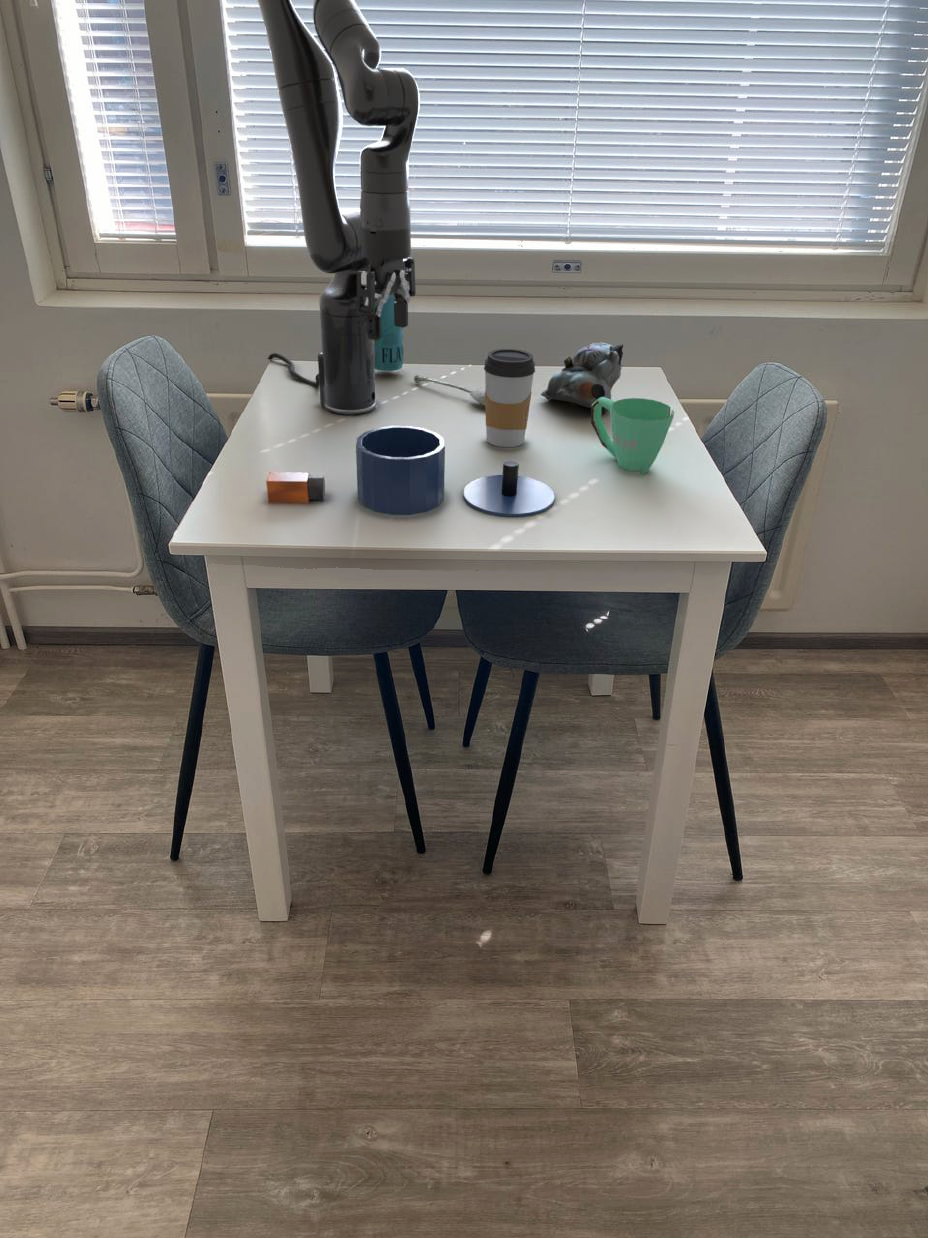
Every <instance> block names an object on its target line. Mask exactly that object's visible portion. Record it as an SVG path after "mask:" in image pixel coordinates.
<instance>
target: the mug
mask: <svg viewBox="0 0 928 1238" xmlns="http://www.w3.org/2000/svg"><path fill="white" fill-rule="evenodd" d="M602 407H605V408H606V409H608V411H609V414H610V425H611V436H612V437H610V435H609V432H608V429H607V427H606V426H605V423H604V421H603V419H602V413H601V412H602ZM674 416H675V411H674V409H671V406H670V405H668V404H666V403H664V402H662V401H658V400H655V399H649V398H639V397H632V398H630V397H629V398H622V399H618V400H616V401H615V400H613V399H612V398H611V399H608V398H605V397H601V398H599V399H598V400H596V401H595V402H594V403H593V404H592V406H591V408H590V424H591V426H592V428H593V430H594V433H595V434H596V436H597V438H598V440H599V442H600V444H601V445H602V447H603V448H604V449H606V451H607V452H608V453H610V455H612V456H613V457H614V458H615V460H616V461H617V465H618V467H619V468H621V469H623V470H625V471H628V472H634V473H640V475H644V474H646V473H648V472H649V471H650V469H651V467H652V466H653V464H654V463H655V461H656V459H657V457H658V455H659V453H660V451H661V449H662V447H663V445H664V443H665V440H666V437H667V435H668V432H669V430H670V427H671V425H672V422H673V420H674ZM611 438H612V439H611Z"/></svg>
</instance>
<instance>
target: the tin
mask: <svg viewBox="0 0 928 1238" xmlns="http://www.w3.org/2000/svg"><path fill="white" fill-rule="evenodd" d="M355 457H356V485H357V486H356V487H357V500H358V504H359V506H361V505H362V506H363V507H364V508H367V509H368V510H370V511H373V512H375V513H381V514H385V515H390V516H411V515H412V516H413V515H417V514H422V513H427V512H429V511H432V510H434V509H437V508H439V506H440V505H441V504H442V503H443V502H444V500H445V472H446V471H445V469H446V468H445V467H446V466H445V465H446V463H445V462H446V442H445V438H444V437H442V435H440V434H439V433H438V432H436V431H433V430H430V429H427V428H424V427H417V426H412V425H387V426H383V427H376V428H373V429H370V430H366V431H364V432H363V433H362V434H360V435H358V437H357V438H356V441H355Z"/></svg>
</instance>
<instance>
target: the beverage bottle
mask: <svg viewBox="0 0 928 1238" xmlns="http://www.w3.org/2000/svg"><path fill="white" fill-rule="evenodd" d="M376 294H377V293H376ZM395 302H397V301H394V299H393V296H392V294H391V295H389V297H388V300H387V302H386V303H384V304H383V307H382V311H381V314H380V315H381V322H382V338H381V339H380V340H374V361H375V370H377V371H381V372H393V371H394V372H395V371H399V370H401V369H402V368H403V365H404V344H403V342H404V334H403V330H404V328H403V327H397V326H395V324H394V303H395ZM376 304H377V301H375V307H376Z"/></svg>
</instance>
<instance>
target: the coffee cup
mask: <svg viewBox="0 0 928 1238" xmlns="http://www.w3.org/2000/svg"><path fill="white" fill-rule="evenodd" d="M483 371H484V375H485V376H484V377H485V378H484V379H485V381H484V383H485V387H484V388H485V406H484V409H485V410H484V411H485V429H486V430H485V433H486V435H485V436H486V442H488V443H489V444H490V445H492V446H495V447H500V448H514V447H519V446H522V445H523V444H524V442H525V436H526V430H527V427H528V421H529V420H528V419H529V413H530V406H531V400H532V399H531V398H532V388H533V380H534V374H535V373H536V363H535V360H534V355H533V354H532V353H531V352H529V351H526V350H522V349H518V348H517V349H516V348H499V349H498V348H497V349H493V350H491V351H489V352H488V353H487V358H486V359H485V361H484V367H483Z"/></svg>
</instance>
